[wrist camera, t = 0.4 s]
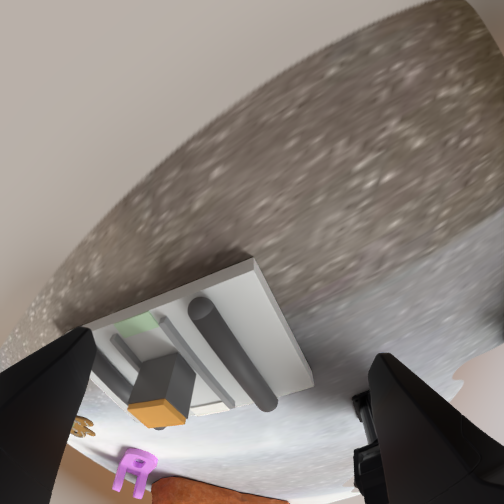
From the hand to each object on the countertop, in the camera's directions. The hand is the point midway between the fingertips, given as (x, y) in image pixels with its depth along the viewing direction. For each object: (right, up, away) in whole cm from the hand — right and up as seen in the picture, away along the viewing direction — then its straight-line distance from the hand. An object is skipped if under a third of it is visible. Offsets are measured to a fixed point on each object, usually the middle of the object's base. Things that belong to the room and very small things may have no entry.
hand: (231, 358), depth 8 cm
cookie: (-29, -25, +28) cm, 47 cm away
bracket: (-20, -34, +32) cm, 51 cm away
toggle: (-7, -7, +16) cm, 19 cm away
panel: (-6, -7, +19) cm, 21 cm away
